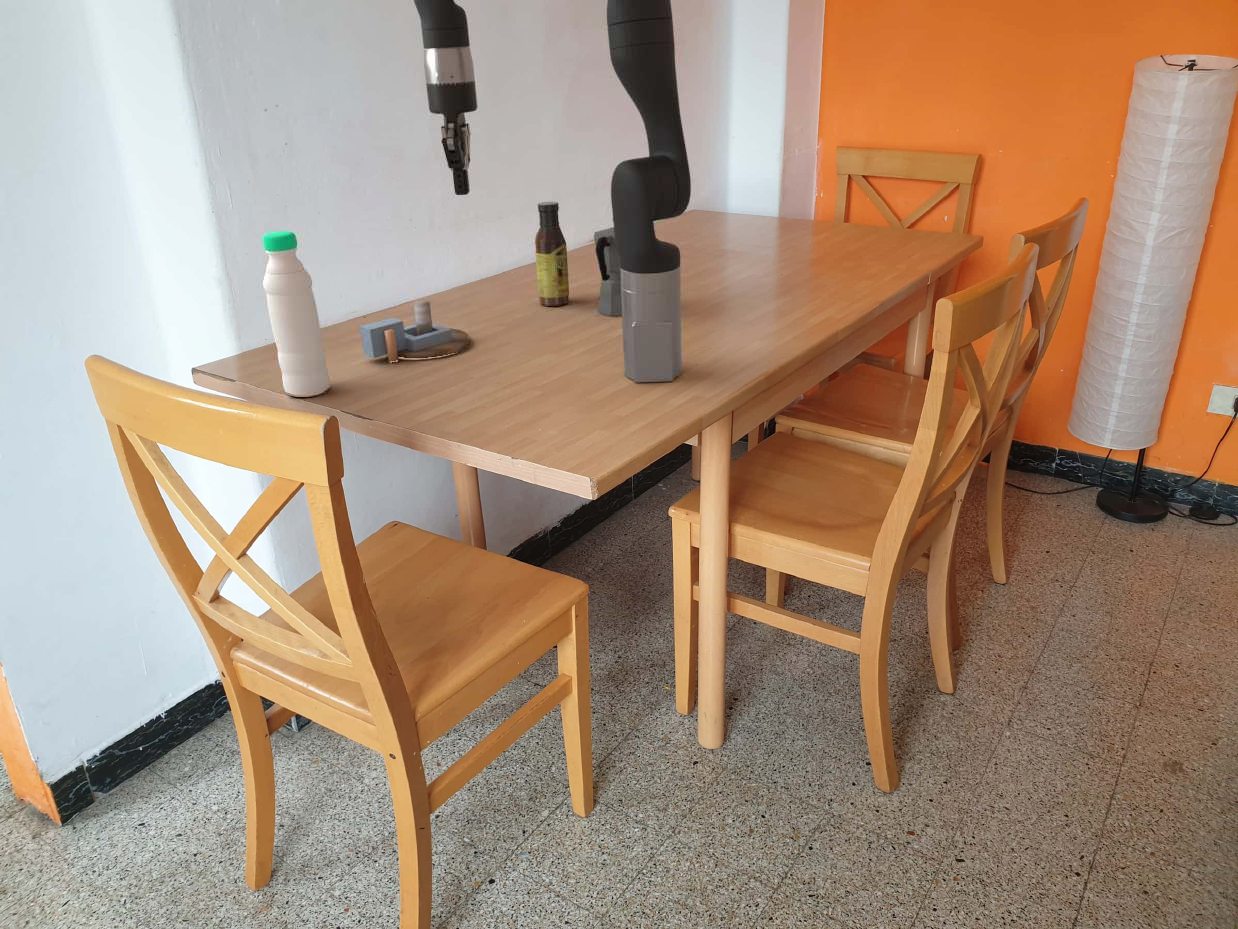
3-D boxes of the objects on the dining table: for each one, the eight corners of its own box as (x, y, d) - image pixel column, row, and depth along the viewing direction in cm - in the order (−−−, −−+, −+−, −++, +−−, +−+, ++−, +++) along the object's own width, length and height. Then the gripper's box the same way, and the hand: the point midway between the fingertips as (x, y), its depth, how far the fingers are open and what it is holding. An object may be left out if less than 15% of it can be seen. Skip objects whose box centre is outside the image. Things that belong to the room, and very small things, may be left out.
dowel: (397, 362, 163) (392, 331, 161) (387, 363, 163) (383, 332, 161) (399, 359, 165) (394, 329, 162) (390, 360, 165) (385, 329, 162)
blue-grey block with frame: (427, 331, 175) (423, 305, 173) (452, 340, 170) (449, 312, 168) (357, 351, 166) (352, 323, 164) (381, 361, 161) (377, 332, 159)
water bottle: (314, 380, 157) (285, 226, 146) (340, 389, 153) (312, 231, 142) (276, 393, 152) (243, 235, 141) (301, 402, 148) (270, 240, 137)
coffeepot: (612, 299, 194) (608, 209, 187) (655, 303, 191) (653, 211, 183) (579, 320, 182) (573, 225, 174) (624, 325, 178) (620, 227, 170)
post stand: (462, 358, 164) (457, 313, 160) (375, 361, 164) (368, 316, 161) (475, 332, 177) (470, 290, 174) (394, 335, 178) (388, 293, 174)
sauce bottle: (565, 307, 190) (558, 206, 182) (535, 307, 192) (527, 206, 183) (573, 298, 196) (567, 199, 188) (544, 298, 197) (536, 200, 189)
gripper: (467, 80, 142) (479, 200, 149) (480, 76, 154) (490, 186, 161) (417, 83, 142) (432, 202, 150) (434, 78, 154) (446, 188, 162)
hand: (462, 193), depth 155 cm, fingers closed
